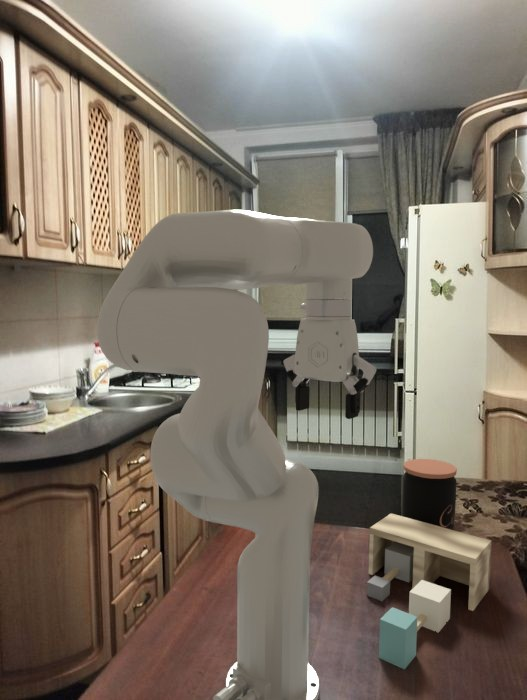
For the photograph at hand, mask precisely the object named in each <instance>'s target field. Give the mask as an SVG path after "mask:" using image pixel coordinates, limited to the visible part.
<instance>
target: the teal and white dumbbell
mask: <svg viewBox="0 0 527 700" xmlns="http://www.w3.org/2000/svg"><path fill="white" fill-rule="evenodd" d="M451 595H452V589H451V588H447V587H445V586H442V585H438V584H436V583H434V582H433V583H430V582H427V581H424V580H421V581H420V582H419V583H418V584H417V585H416V586H415V587H414V588H413V589H412V588H411V590H410V591H409V596H408V598H409V599H408V601H409V602H408V612H406V611H404V610H403V611H402V610H400V609H399V608H395V607H391V608H389V610H387V612H385V613H384V614H383V616H382V617H381V618H379V640H378V641H379V642H378V644H379V645H378V659H381V660H383V661H385V662H387V663H389V664H391V665H394V666H395V667H398V668H401V669H402V670H406V669H407V668H408V666H409V665H410V663H412V661H413V660H414V658H416V656H417V640H418V639H417V636H418V631H419V630H420V629H421V628H422V627H423V628H425V629H427V630H430V631H433V632H435V631H436V633H438V634H439V632H441V631H442V629H443V628H444V626H445V625H446V624H447V623H448V622H449V620H450V619H451ZM446 622H447V623H446Z"/></svg>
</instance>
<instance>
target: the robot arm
mask: <svg viewBox="0 0 527 700" xmlns="http://www.w3.org/2000/svg"><path fill="white" fill-rule="evenodd" d="M373 257H374V245H373V241H372V237H371V235H370V233H369V231H368V230H367V229H366V227H364V226H363V225H361V224H358V223H354V222H345V221H343V222H342V221H329V220H317V219H311V218H301V217H300V218H299V217H285V216H278V215H272V214H268V213H263V212H259V211H258V212H257V211H253V210H252V211H251V210H246V209H245V210H244V209H223V210H222V209H221V210H211V211H209V210H208V211H193V212H182V213H181V212H180V213H179V212H178V213H172V214H169V215H167V216H165V217H164V218H162V219H161V220H159V221H158V222H156V224H154V225H153V227H152V228H151V229H150V230H149V232H148V233H146V235H145V236H144V238H143V239H142V240H141V241H140V243H139V245H137V247H136V249H135V250H134V252H133V253H132V255H131V256H130V258H129V260H128V261H127V263H126V265H125V267H124V268H123V270H121V272H120V274H119V275H118V277H117V279H116V280H115V282H114V283H113V285H112V287H111V288H110V289H109V291H108V293H107V295H106V297H105V298H104V300H103V302H102V306H101V308H100V310H99V314H98V319H97V324H96V336H97V340H98V345H99V348H100V351H101V352H102V353H103V355H104V357H105V358H106V359H107V360H108V361H109V362H110V363H112V364H113V365H114V366H116V367H118V368H120V369H123V370H126V371H132V372H138V373H153V374H154V373H155V374H166V375H167V374H168V375H169V374H170V375H178V376H192V377H193V376H194V377H199V385H198V387H197V388H196V389H195V390H194V391H193V392H192V393H191V394H190V395H189V397H188V399H187V400H186V402H185V403H184V405H183V406H182V409H181V411H180V413H177V414H176V413H175V414H174V415H171V416H170V417H168V418H166V420H164V421H163V422H161V424H160V425H159V426H158V427H157V429H156V431H155V433H154V435H153V437H152V441H151V445H150V452H149V454H150V455H149V456H150V457H149V459H150V466H151V470H152V474H153V475H152V476H154V479H155V481H156V483H157V485H158V486H159V487H160V488H161V489H162V491H164V492H165V493H166V494H167V495H168V496H169V497H171V498H172V499H173V500H174V501H176V502H177V503H178V504H179V505H180V506H181V507H183V508H184V509H185V510H186V511H188V512H189V513H190V514H191V515H192V516H195V518H198V519H200V520H203V521H206V522H210V523H214V524H221V525H226V526H230V527H236V528H241V529H244V530H247V531H251V532H253V533H254V534H256V537H254V539H253V540H251V541H250V543H248V544H247V545H246V546H245V548H244V549H243V551H242V552H241V554H240V556H239V559H238V563H237V569H236V571H237V573H236V574H237V576H236V578H237V579H236V581H237V585H236V586H237V588H236V589H237V596H236V597H237V608H236V609H237V610H236V611H237V613H236V614H237V618H236V619H237V621H236V622H237V623H236V627H237V630H236V631H237V634H236V636H237V637H236V642H237V643H236V645H237V646H236V648H237V649H236V652H237V653H236V654H237V655H236V660H237V661H236V662H235V663H233V665H231V667H230V668H229V670H228V671H227V674H226V678H225V687H223V688H222V689H221V690H220V691H218V692H217V693H215V694H214V696H213V697H212V700H319V696H320V679H319V676H318V674H317V671H316V670H315V668H314V667H313V666H312V665H310V663H309V638H310V637H309V635H310V634H309V629H310V628H309V627H310V624H309V623H310V566H311V546H312V539H313V538H312V536H313V530H314V524H315V517H316V513H317V507H318V501H319V482H318V479H317V477H316V475H315V474H314V472H313V471H312V470H311V469H310V468H309V467H308V466H306V465H304V464H303V463H300V462H298V461H296V460H293V459H288V458H286V457H285V453H284V450H283V447H282V445H281V443H280V442H279V440H278V438H277V436H276V434H275V433H274V431H273V430H272V428H271V427H270V426H269V423H268V421H267V420H266V419H265V417H264V416H263V414H262V412H261V410H260V409H259V403H260V399H261V392H262V388H263V385H264V378H265V372H266V366H267V359H268V350H269V342H270V341H269V339H270V338H269V336H270V334H269V333H270V331H269V324H268V320H267V315H266V312H265V311H264V308H263V307H262V305H261V304H260V303H259V302H258V300H256V298H254V297H252V296H251V295H249V294H248V293H245V292H243V291H242V290H253V289H260V288H268V287H277V286H288V285H289V286H293V285H294V286H295V285H304V284H305V299H304V300H305V301H304V303H301V304H300V311H301V312H304V315H305V317H304V318H300V320H299V321H300V322H299V327H298V331H297V336H296V343H295V344H296V345H295V353H294V354H291V356H289V357H287V358H285V359H284V360H283V361H282V362H283V365H284V368H285V371H286V375H287V377H288V378H289V379H290V381H291V383H292V386H293V387H294V388H295V389H294V390H295V395H294V396H295V397H294V402H295V410H296V411H297V412H298V411H299V412H301V411H303V410H307V409H309V408H310V396H311V395H310V391H311V388H310V385H307V384H308V383H309V381H310V380H317V381H324V382H333V383H340V382H342V384H343V385H344V387H345V388H346V389H347V391H348V393H347V394H345V412H344V413H345V414H344V415H345V418H346V419H348V420H351V419H354V418H356V417H357V418H358V417H359V415H360V414H359V413H360V412H361V397H362V395H361V393H364V391H365V390H366V388H367V387H369V385H371V383H372V380H373V378H374V376H375V375H376V372H377V367H376V366H375V365H373V364H371V363H370V362H368V361H367V360H365V359H364V358H362V357H361V356H360V353H359V351H360V350H359V349H360V348H359V339H358V332H357V326H356V322H355V319H352V304H353V303H352V302H353V301H352V299H353V279H360V278H362V277H363V276H365V275H366V273H367V272H368V271H369V269H370V268H371V264H372V261H373ZM239 290H241V291H239ZM359 370H361V371H362V372H363V373H362V377H361V378H360V379H359V378H358V376H359Z"/></svg>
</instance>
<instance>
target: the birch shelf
mask: <svg viewBox="0 0 527 700" xmlns="http://www.w3.org/2000/svg"><path fill="white" fill-rule="evenodd" d="M393 542H399V543H402V544H405V545H408V546H412V547H414V556H413V579H412V584H411V585H412V587H411V590H412V589H413V588H414V587H415V586H416V585H417V584H418V583H419V582H420V581H421V580H424V581H427V582H430V583H433V584H434V582H436V580H438V578H439V577H442V578H446V579H449V580H451V581H454V582H457V583H460V584H463V585H467V586H468V587H469V588H468V603H467V604H468V605H467V606H468V610H469V611H472V612H474V611H475V610H476V608H477V606H478V605H479V604H480V602H481V601H482V599H483V598H484V597H485V596H486V594H487V593H489V591H490V585H491V584H490V581H491V562H492V561H491V559H492V540H491V539H487V538H484V537H479V536H476V535H473V534H470V533H464V532H462V531H457V530H455V529H454V530H451V529H447V528H443V527H440V526H436V525H432V524H429V523H425V522H421V521H418V520H414V519H410V518H407V517H403V516H402V515H398V514H395V513H392V512H391V513H389V514H388V515H387V516H385V517H384V518H382V519H381V520H379V521H378V522H376V523H374V524H373V525H372V526H370V527H369V545H368V547H369V550H368V575H370V576H373V575H376V573H377V572H379V570H380V569H381V568H383V567H385V549H386V548H387V547H388V546H390V545H391V544H392V543H393Z"/></svg>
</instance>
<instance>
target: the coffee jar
mask: <svg viewBox="0 0 527 700" xmlns="http://www.w3.org/2000/svg"><path fill="white" fill-rule="evenodd" d="M403 470H404V471H405V472H404V473H403V475H402V490H401V491H402V492H401V493H402V495H401V498H402V499H401V516H403V517H407V518H410V519H414V520H418V521H421V522H425V523H429V524H432V525H436V526H440V527H443V528H447V529H451V530H454V531H455V527H456V526H455V525H456V524H455V523H456V503H457V502H456V501H457V478H456V477H455V476H456V475H457V470H458V468H457V467H456V466H455V465H454V464H451V463H450V462H446V461H444V460H437V459H431V458H416V459H415V458H414V459H409V460H407V461H404V462H403Z"/></svg>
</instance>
